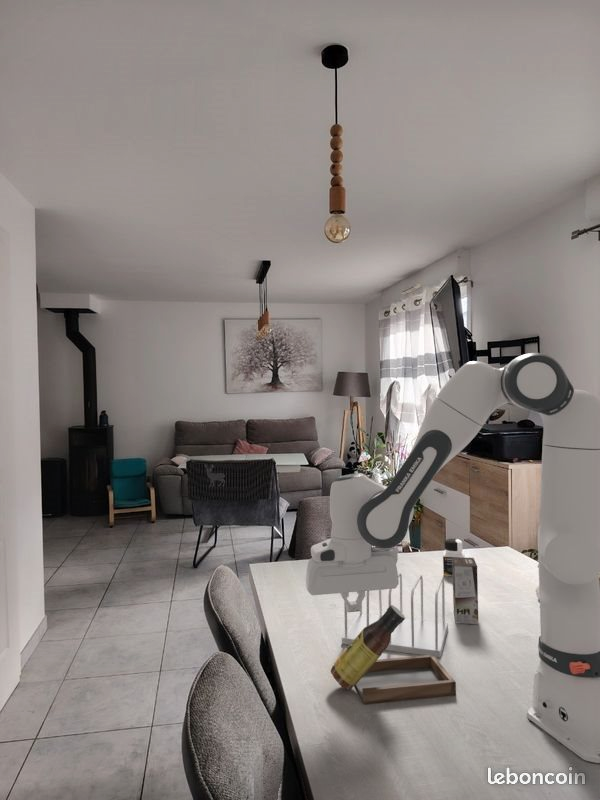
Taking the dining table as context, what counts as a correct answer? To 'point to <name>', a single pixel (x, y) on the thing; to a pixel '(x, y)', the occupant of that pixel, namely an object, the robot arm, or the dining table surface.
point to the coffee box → (465, 590)
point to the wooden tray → (405, 680)
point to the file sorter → (405, 626)
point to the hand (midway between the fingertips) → (353, 611)
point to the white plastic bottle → (451, 554)
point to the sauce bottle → (366, 649)
